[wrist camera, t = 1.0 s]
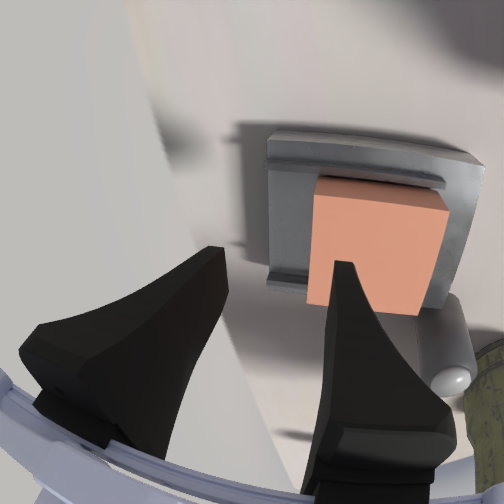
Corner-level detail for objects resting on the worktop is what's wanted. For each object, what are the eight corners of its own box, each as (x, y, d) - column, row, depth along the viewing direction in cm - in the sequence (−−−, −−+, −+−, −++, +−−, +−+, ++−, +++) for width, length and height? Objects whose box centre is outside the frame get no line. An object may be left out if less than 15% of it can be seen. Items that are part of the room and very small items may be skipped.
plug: (467, 294, 21) (489, 367, 15) (450, 330, 23) (463, 401, 17) (422, 289, 21) (435, 365, 16) (408, 327, 24) (414, 401, 18)
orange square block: (437, 190, 15) (449, 211, 13) (412, 287, 18) (417, 315, 16) (318, 176, 16) (314, 194, 14) (311, 276, 20) (306, 303, 18)
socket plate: (470, 153, 15) (490, 171, 13) (435, 286, 21) (443, 317, 18) (275, 130, 18) (263, 143, 16) (277, 267, 24) (266, 297, 21)
